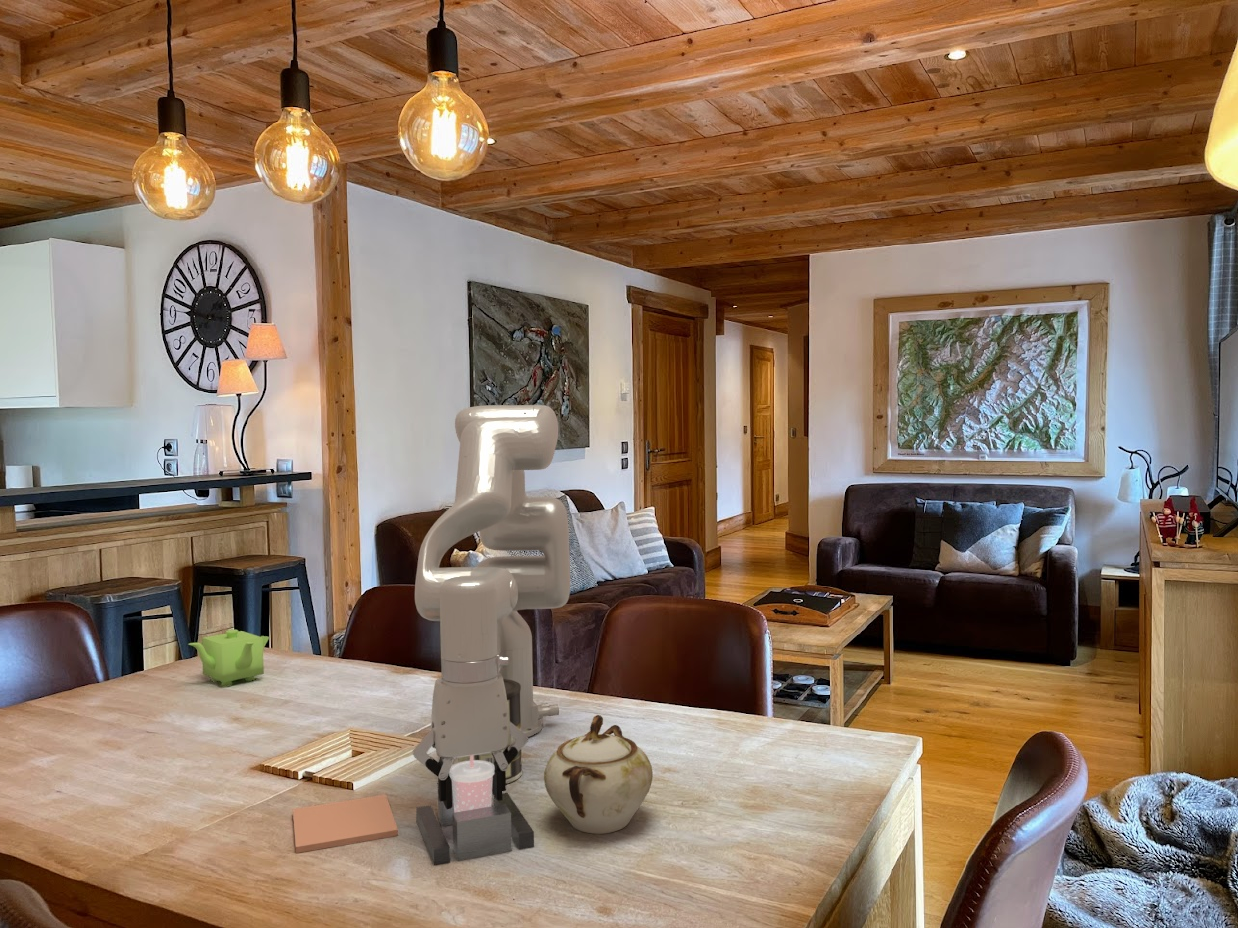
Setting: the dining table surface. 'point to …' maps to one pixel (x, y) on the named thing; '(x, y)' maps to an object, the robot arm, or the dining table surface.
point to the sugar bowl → (598, 779)
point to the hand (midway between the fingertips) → (472, 799)
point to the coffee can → (515, 718)
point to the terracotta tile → (343, 823)
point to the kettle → (232, 656)
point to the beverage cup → (472, 784)
